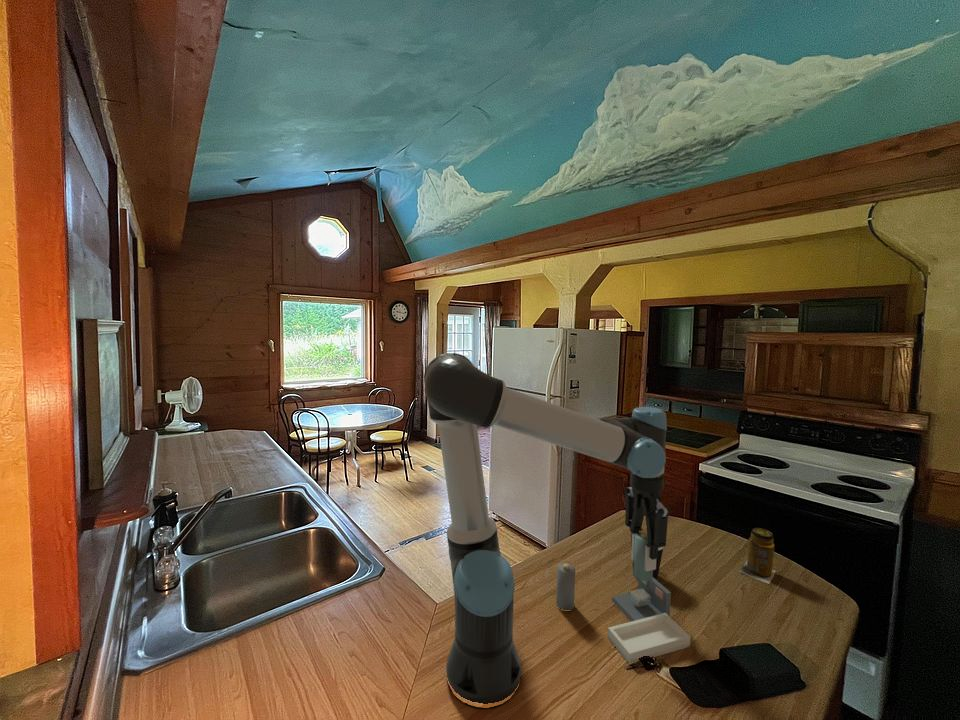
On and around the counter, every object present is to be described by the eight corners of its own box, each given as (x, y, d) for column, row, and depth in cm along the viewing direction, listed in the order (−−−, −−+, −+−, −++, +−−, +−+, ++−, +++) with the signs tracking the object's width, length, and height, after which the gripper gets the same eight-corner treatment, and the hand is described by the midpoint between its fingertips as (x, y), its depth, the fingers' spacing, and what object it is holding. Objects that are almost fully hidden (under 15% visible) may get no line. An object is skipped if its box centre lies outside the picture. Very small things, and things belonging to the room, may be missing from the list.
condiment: (776, 571, 119) (779, 532, 118) (769, 584, 113) (772, 543, 112) (746, 560, 124) (750, 523, 123) (738, 572, 118) (741, 533, 117)
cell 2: (656, 578, 100) (658, 537, 99) (641, 582, 99) (643, 540, 98) (644, 568, 104) (646, 528, 103) (629, 571, 103) (631, 530, 102)
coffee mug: (657, 589, 110) (659, 554, 109) (624, 577, 116) (626, 543, 115) (667, 568, 120) (669, 536, 119) (637, 558, 125) (638, 526, 124)
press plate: (638, 607, 100) (638, 599, 100) (630, 598, 103) (630, 591, 103) (650, 604, 101) (651, 596, 101) (641, 595, 104) (642, 588, 104)
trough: (629, 664, 87) (629, 653, 86) (607, 637, 94) (607, 627, 94) (689, 646, 91) (690, 636, 91) (664, 622, 99) (665, 612, 98)
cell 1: (561, 613, 101) (562, 572, 100) (553, 601, 106) (554, 561, 104) (577, 609, 103) (578, 569, 102) (568, 598, 107) (569, 559, 106)
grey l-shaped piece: (638, 628, 97) (639, 600, 96) (612, 600, 106) (613, 574, 105) (669, 620, 99) (671, 592, 98) (641, 593, 109) (642, 568, 108)
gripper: (687, 483, 92) (682, 582, 94) (636, 458, 108) (633, 542, 111) (660, 488, 90) (655, 588, 92) (611, 461, 106) (609, 547, 108)
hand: (643, 563), depth 101 cm, fingers closed on cell 2, 4 cm apart
